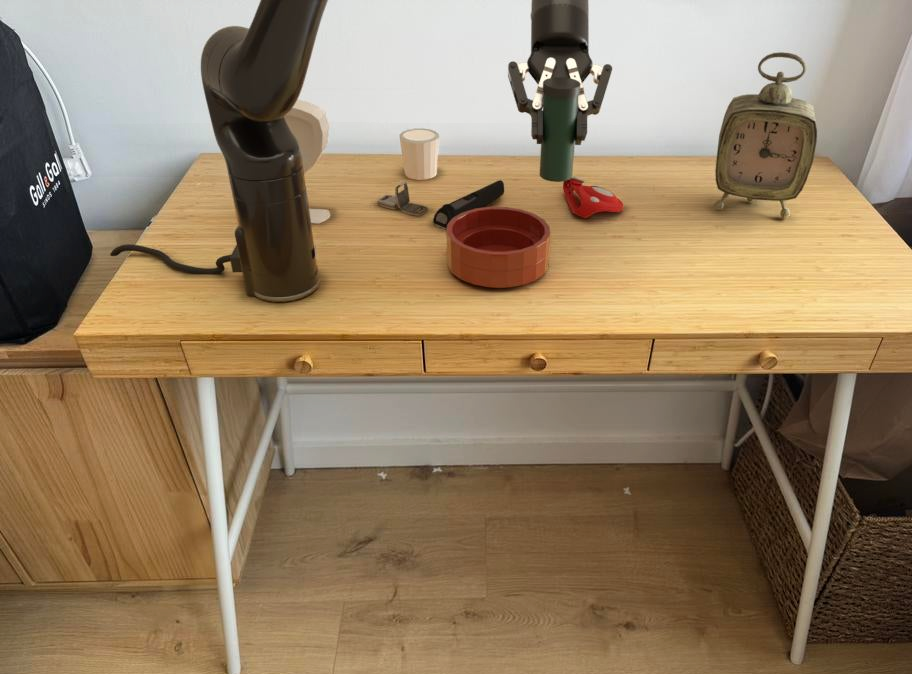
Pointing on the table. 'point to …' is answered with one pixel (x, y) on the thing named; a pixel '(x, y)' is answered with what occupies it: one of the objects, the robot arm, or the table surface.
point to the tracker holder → (589, 198)
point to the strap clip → (401, 201)
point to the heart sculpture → (310, 140)
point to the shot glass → (420, 153)
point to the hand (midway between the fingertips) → (559, 141)
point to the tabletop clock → (766, 143)
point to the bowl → (498, 246)
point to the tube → (559, 128)
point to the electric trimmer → (468, 203)
